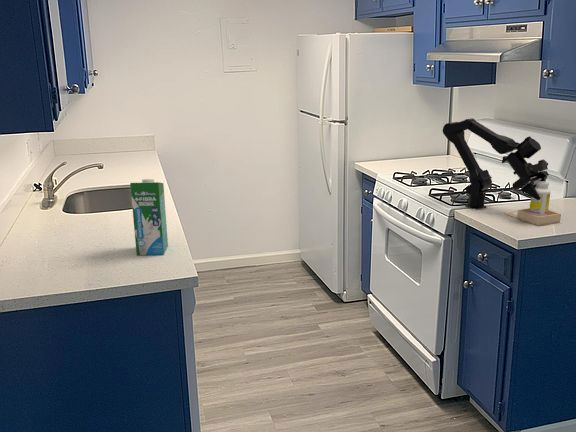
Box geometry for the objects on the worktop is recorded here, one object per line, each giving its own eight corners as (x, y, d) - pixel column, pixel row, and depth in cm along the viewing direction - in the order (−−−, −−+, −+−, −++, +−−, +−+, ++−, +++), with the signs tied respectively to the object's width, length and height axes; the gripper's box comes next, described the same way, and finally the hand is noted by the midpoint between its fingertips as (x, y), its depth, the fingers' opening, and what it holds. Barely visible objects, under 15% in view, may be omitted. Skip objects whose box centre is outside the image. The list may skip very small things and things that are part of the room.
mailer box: (503, 213, 237) (504, 205, 236) (525, 210, 241) (525, 202, 240) (538, 225, 221) (539, 217, 220) (560, 222, 225) (561, 213, 224)
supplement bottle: (543, 212, 230) (547, 180, 227) (550, 216, 224) (555, 184, 221) (526, 212, 230) (530, 180, 227) (532, 216, 224) (537, 183, 221)
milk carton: (168, 246, 204) (163, 176, 197) (163, 255, 195) (158, 182, 188) (142, 246, 203) (136, 176, 196) (136, 255, 195) (130, 182, 188)
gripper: (523, 156, 218) (548, 190, 213) (547, 150, 229) (571, 182, 225) (501, 173, 226) (525, 206, 221) (525, 166, 237) (549, 198, 233)
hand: (543, 198), depth 224 cm, fingers closed on supplement bottle, 7 cm apart
